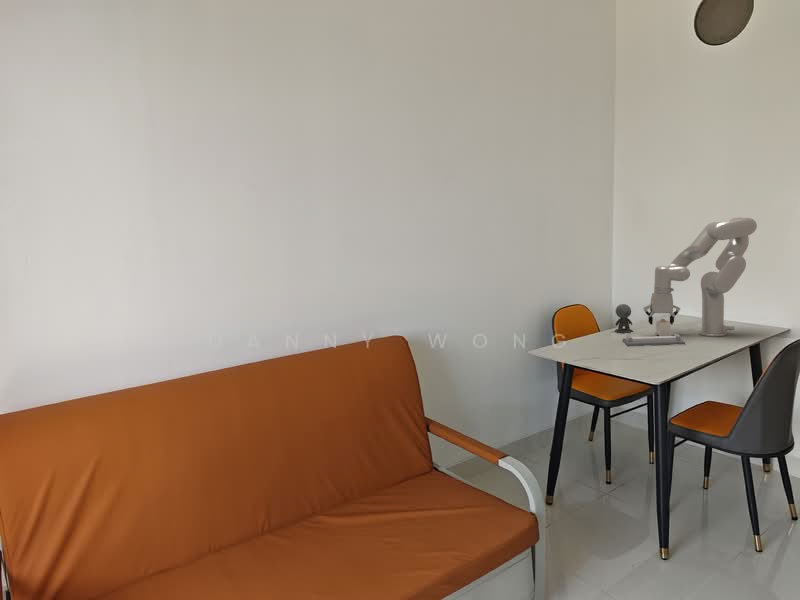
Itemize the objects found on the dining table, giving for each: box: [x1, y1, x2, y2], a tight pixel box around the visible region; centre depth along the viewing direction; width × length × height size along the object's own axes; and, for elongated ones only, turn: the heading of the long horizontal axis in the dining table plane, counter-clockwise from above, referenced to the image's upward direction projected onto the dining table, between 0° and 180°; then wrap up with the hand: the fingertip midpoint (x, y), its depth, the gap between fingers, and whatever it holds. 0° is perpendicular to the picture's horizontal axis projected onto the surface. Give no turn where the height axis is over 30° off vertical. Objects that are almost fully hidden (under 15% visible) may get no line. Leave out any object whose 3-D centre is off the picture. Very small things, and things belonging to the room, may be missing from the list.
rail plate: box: [622, 333, 686, 347], centre depth 270 cm, size 26×11×3 cm, turn 80°
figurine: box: [614, 303, 634, 334], centre depth 297 cm, size 9×10×15 cm
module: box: [655, 318, 672, 336], centre depth 281 cm, size 5×8×9 cm, turn 170°
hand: (661, 324), depth 280 cm, fingers open, 9 cm apart
